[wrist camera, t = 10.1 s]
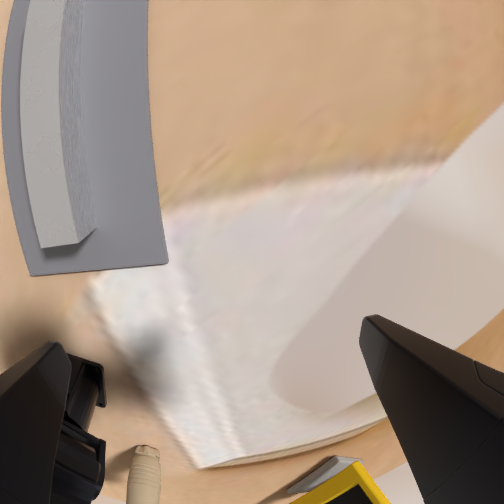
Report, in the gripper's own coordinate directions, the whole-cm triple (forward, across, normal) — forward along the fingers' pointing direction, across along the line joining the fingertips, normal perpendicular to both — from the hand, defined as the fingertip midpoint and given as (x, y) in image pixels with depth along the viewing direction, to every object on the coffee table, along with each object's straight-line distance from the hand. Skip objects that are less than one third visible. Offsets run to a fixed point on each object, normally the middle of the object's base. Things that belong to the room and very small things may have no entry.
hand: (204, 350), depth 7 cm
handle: (+12, +12, +28) cm, 33 cm away
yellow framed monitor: (+12, -12, +43) cm, 46 cm away
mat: (+12, +9, -10) cm, 18 cm away
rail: (+12, +9, -10) cm, 18 cm away
